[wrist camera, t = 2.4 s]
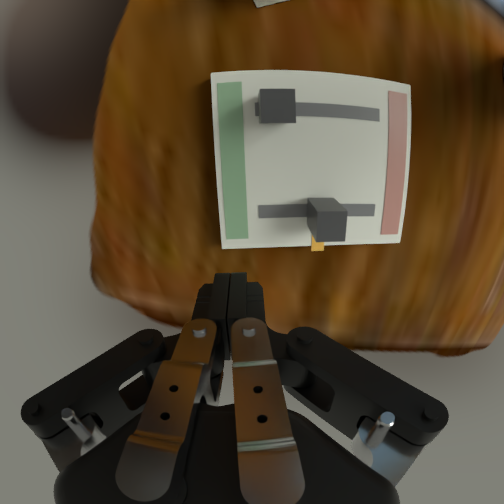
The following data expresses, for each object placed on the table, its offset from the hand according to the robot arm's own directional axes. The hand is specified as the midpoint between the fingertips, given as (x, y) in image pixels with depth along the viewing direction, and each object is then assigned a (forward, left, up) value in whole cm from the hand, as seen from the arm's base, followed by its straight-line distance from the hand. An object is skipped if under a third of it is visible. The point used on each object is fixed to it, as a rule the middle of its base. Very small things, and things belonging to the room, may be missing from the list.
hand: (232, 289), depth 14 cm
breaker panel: (-7, -4, -15) cm, 17 cm away
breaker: (-3, -9, -12) cm, 15 cm away
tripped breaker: (-7, 0, -12) cm, 14 cm away
